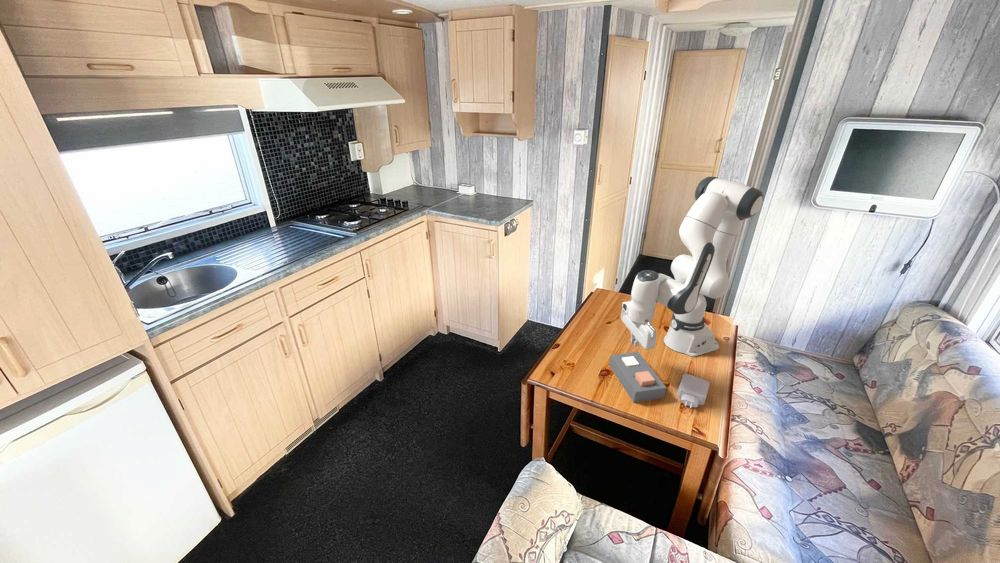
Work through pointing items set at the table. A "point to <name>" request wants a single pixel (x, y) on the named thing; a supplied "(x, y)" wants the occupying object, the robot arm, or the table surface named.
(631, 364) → the white key
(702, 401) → the charger
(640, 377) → the terracotta key
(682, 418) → the table surface
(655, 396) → the console
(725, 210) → the robot arm
